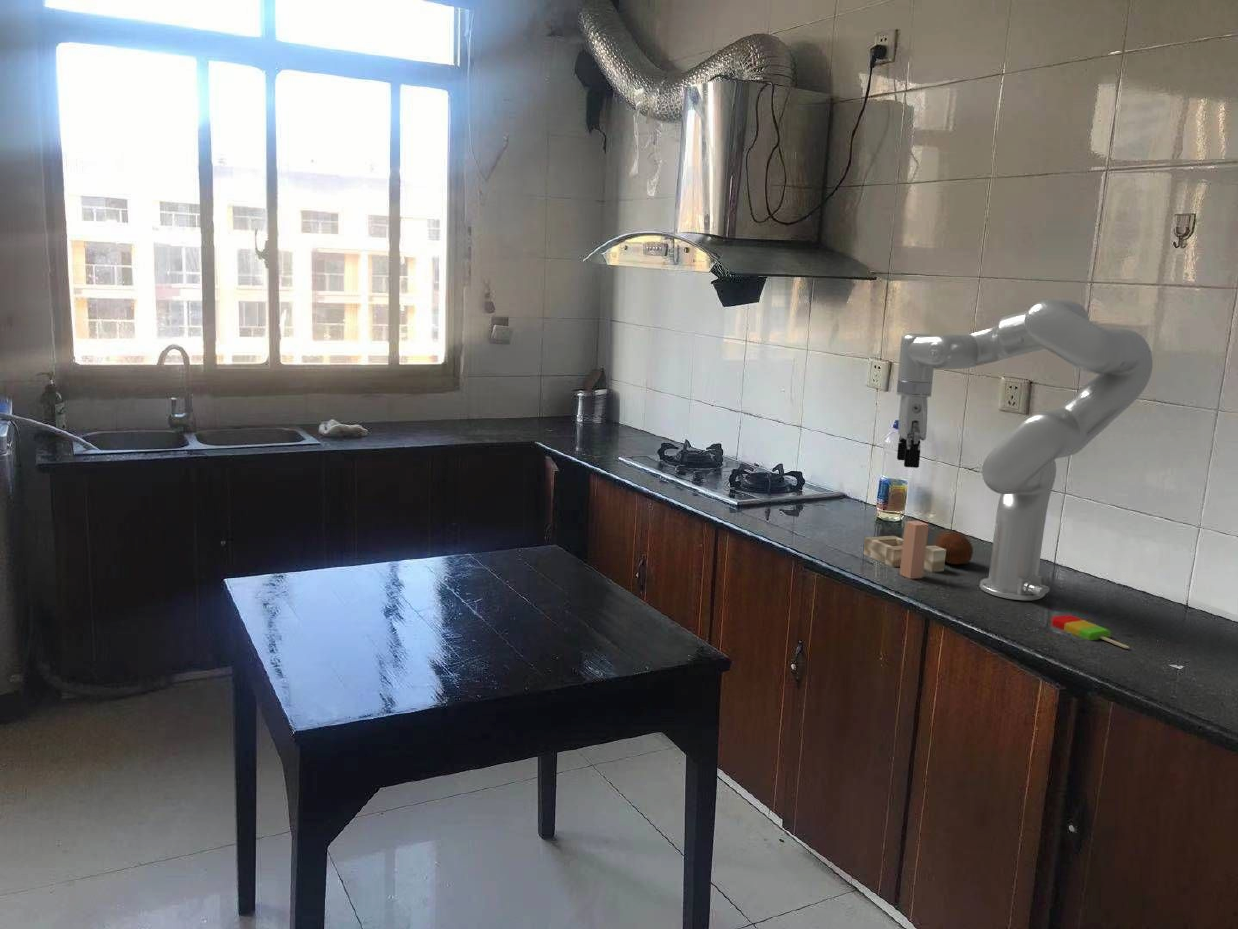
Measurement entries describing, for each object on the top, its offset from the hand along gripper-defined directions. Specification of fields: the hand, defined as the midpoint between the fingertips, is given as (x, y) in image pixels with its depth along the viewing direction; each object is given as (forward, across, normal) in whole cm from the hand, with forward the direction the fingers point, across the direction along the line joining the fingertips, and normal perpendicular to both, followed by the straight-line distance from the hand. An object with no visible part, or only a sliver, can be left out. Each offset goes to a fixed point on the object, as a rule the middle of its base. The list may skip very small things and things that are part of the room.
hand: (907, 463), depth 222 cm
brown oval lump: (+23, +1, -12) cm, 26 cm away
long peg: (+23, -12, -1) cm, 26 cm away
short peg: (+23, -6, -6) cm, 25 cm away
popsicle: (+24, -42, -29) cm, 57 cm away
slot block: (+23, 0, +2) cm, 23 cm away
